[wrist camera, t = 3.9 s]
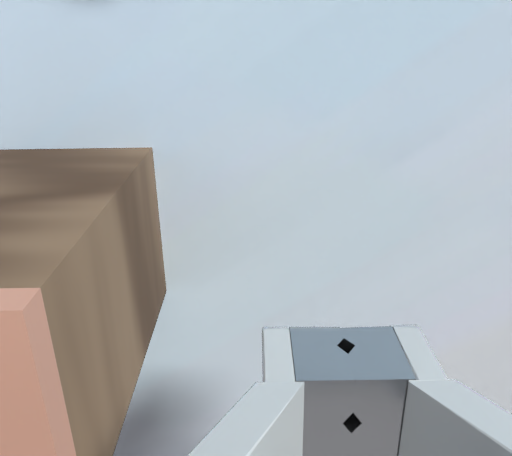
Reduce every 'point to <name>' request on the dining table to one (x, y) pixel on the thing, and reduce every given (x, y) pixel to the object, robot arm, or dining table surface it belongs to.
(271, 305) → the dining table surface
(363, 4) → the dining table surface
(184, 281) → the dining table surface
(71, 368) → the brown rectangular block
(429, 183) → the dining table surface
